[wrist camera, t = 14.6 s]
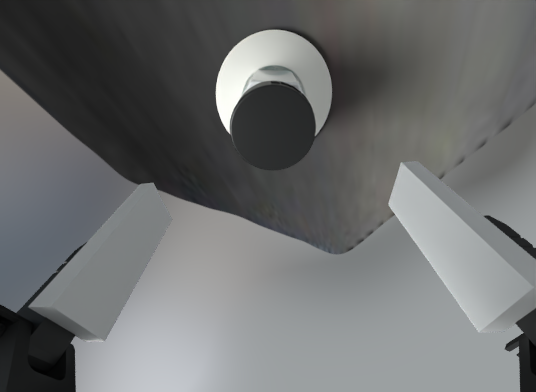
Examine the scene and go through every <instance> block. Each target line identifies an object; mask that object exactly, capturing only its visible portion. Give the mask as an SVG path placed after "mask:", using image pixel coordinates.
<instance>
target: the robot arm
mask: <svg viewBox="0 0 536 392" xmlns="http://www.w3.org/2000/svg"><path fill="white" fill-rule="evenodd" d="M388 205H389V206H390V208H391V209H392V211H393V212H394V213H395V215H396V216H397V217H398V219H399V220H400V222H401V223H402V225H403V226H404V227H405V229H406V230H407V232H408V233H409V235H410V236H411V237H412V239H413V240H414V242H415V243H416V244H417V246H418V247H419V249H420V250H421V251H422V253H423V254H424V256H425V257H426V259H427V260H428V261H429V263H430V264H431V266H432V267H433V268H434V270H435V271H436V273H437V274H438V276H439V277H440V278H441V280H442V281H443V283H444V284H445V285H446V287H447V288H448V290H449V291H450V292H451V294H452V295H453V297H454V298H455V300H456V301H457V302H458V304H459V305H460V306H461V308H462V309H463V311H464V312H465V314H466V315H467V316H468V318H469V319H470V321H471V322H472V324H473V325H474V326H475V328H476V329H477V331H478V332H504V331H506V330H507V329H509V328H510V327H511V326H513V325H514V324H517V325H518V327H519V328H520V329H521V330H522V331H523V332H524V333H523V334H521V335H520V336H518V337H517V338H515V339H513V340H512V341H510V342H509V343H508V344H506V347H505V349H506V350H507V351H512V350H513V349H515V348H517V347H518V346H519V353H518V354H517V356H518V357H519V361H520V392H536V248H533V246H532V244H530V243H529V242H528V241H527V240H525V239H524V238H521V237H520V235H519V234H517V233H516V232H515V231H514V230H512V229H511V228H510V227H509V226H507V225H506V224H504V223H502V222H500V221H498V220H496V219H494V218H492V217H491V216H483V215H482V214H480V213H479V212H478V211H477V210H475V209H474V208H473V207H472V206H470V204H468V203H467V202H466V201H465V200H463V199H462V198H461V197H460V196H459V195H457V194H456V193H455V192H454V191H453V190H452V189H450V188H449V187H448V186H447V185H445V184H444V183H443V182H442V181H441V180H439V179H438V178H437V177H436V176H435V175H433V174H432V173H431V172H430V171H429V170H427V169H426V168H425V167H424V166H423V165H421V164H420V163H419V162H418V161H411V162H401V165H400V168H399V171H398V175H397V178H396V181H395V184H394V188H393V191H392V194H391V197H390V200H389V204H388ZM171 221H172V218H171V216H170V214H169V212H168V210H167V208H166V206H165V204H164V203H163V201H162V199H161V197H160V195H159V193H158V191H157V189H156V187H155V185H154V183H148V184H140V185H139V186H138V187H137V188H136V189H135V190H134V192H133V193H132V194H131V195H130V196H129V197H128V198H127V199H126V201H124V202H123V204H122V205H121V206H120V207H119V208H118V209H117V210H116V211H115V213H113V215H112V216H111V217H110V218H109V219H108V220H107V221H106V222H105V223H104V224H103V226H102V227H101V228H100V229H99V230H98V231H97V232H96V233H95V234H94V235H93V236H92V237H91V239H90V240H89V241H88V242H86V243H85V244H84V245H82V246H81V247H79V248H78V249H77V250H75V251H74V252H73V253H72V254H71V255H70V256H69V258H68V259H67V260H66V261H65V263H64V264H62V265H61V266H60V267H59V268H58V269H57V271H56V273H54V274H53V275H52V276H51V277H50V278H49V279H48V280H47V281H46V282H45V283H44V285H42V287H40V289H39V290H38V291H37V292H36V293H35V294H34V295H33V296H32V297H31V298H30V299H29V300H28V301H27V302H26V303H25V305H24V306H23V307H22V308H21V309H20V310H19V311H18V312H17V313H15V312H13V311H11V310H9V309H7V308H6V307H4V306H2V305H0V392H76V385H75V349H74V346H73V345H72V344H70V343H71V341H72V340H73V338H74V337H75V336H77V337H78V338H80V339H82V340H83V341H85V342H99V341H100V342H102V341H105V340H106V338H107V336H108V334H109V333H110V331H111V329H112V327H113V325H114V324H115V322H116V320H117V318H118V316H119V315H120V313H121V311H122V309H123V307H124V306H125V304H126V302H127V300H128V298H129V297H130V295H131V293H132V291H133V289H134V288H135V286H136V284H137V282H138V280H139V279H140V277H141V275H142V273H143V271H144V270H145V268H146V266H147V264H148V262H149V261H150V259H151V257H152V255H153V253H154V252H155V250H156V248H157V246H158V244H159V242H160V241H161V239H162V237H163V235H164V233H165V232H166V230H167V228H168V226H169V225H170V223H171Z"/></svg>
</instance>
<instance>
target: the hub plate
mask: <svg viewBox="0 0 536 392" xmlns="http://www.w3.org/2000/svg"><path fill="white" fill-rule="evenodd" d="M256 70H273V71H291V72H292V73H293V74H294V76H295V78H296V79H297V81H298V82H299V84H300V86H301V88H302V90H303V93H304V95H305V97H306V98H307V99H308V101H309V103H310V104H311V106H312V109H313V112H314V116H315V121H316V133H315V136H316V135H317V134H318V132H319V131H320V129H321V128H322V126H323V125H324V123H325V121H326V119H327V116H328V113H329V110H330V106H331V99H332V84H331V78H330V74H329V70H328V68H327V65H326V63H325V61H324V59H323V58H322V56H321V54H320V53H319V52H318V50H317V49H316V48H315V47H314V46H313V45H312V44H311V43H310V42H308V41H307V40H306V39H304V38H303V37H301V36H299V35H297V34H295V33H292V32H288V31H284V30H266V31H261V32H258V33H255V34H253V35H250V36H249V37H247V38H245V39H243V40H242V41H241V42H240V43H238V44H237V45H236V46H235V47H234V48H233V49H232V50H231V52H230V53H229V54H228V56H227V57H226V59H225V60H224V62H223V64H222V67H221V69H220V72H219V75H218V79H217V84H216V102H217V108H218V112H219V115H220V118H221V120H222V122H223V124H224V126H225V128H226V129H227V131H228V132H229V134H230V119H231V115H232V112H233V110H234V108H235V106H236V104H237V103H238V101H239V99H240V98H241V96H242V95H243V94H244V92H245V90H246V88H247V86H248V84H249V82H250V80H251V78H252V76H253V75H254V73H255V71H256Z"/></svg>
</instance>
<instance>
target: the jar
mask: <svg viewBox="0 0 536 392" xmlns="http://www.w3.org/2000/svg"><path fill="white" fill-rule="evenodd" d="M315 133H316V121H315V116H314V112H313V109H312V106H311V104H310V103H309V101H308V99H307V98H306V97H305V95H304V93H303V90H302V88H301V86H300V84H299V82H298V81H297V79H296V78H295V76H294V74H293V73H292V72H291V71H273V70H256V71H255V73H254V75H253V76H252V78H251V80H250V82H249V84H248V86H247V88H246V90H245V92H244V94H243V95H242V96H241V98H240V99H239V101H238V103H237V104H236V106H235V108H234V110H233V112H232V115H231V119H230V136H231V140H232V143H233V146H234V148H235V149H236V151H237V152H238V154H239V155H240V156H241V157H242V158H243V159H244V160H245V161H246V162H248V163H249V164H251V165H253V166H255V167H257V168H260V169H264V170H281V169H285V168H288V167H290V166H292V165H294V164H296V163H297V162H299V161H300V160H301V159H302V158H303V157H304V156H305V155H306V154H307V153H308V151H309V150H310V148H311V146H312V144H313V141H314V138H315Z"/></svg>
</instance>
